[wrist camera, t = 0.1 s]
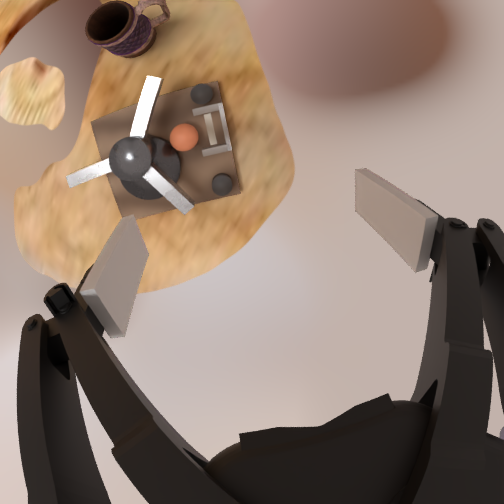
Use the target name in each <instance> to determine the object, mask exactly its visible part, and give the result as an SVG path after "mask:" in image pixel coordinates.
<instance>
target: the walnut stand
mask: <svg viewBox="0 0 504 504" xmlns="http://www.w3.org/2000/svg"><path fill="white" fill-rule="evenodd" d="M138 104H139V103H137V104H134V105H131V106H128V107H126V108H123V109H120V110H118V111H115V112H113V113H110V114H108V115H106V116H103V117H101V118H99V119H96V120H94V121H92V122H91V125H92V129H93V133H94V136H95V140H96V143H97V146H98V150H99V153H100V156H101V159H102V160H103V159H106V158H108V157H109V154H110V151H111V149H112V147H113V145H114V144H115V143H116V142H118V141H119V140H121V139H123V138H125V137H130V134H131V130H132V126H133V122H134V118H135V115H136V111H137V107H138ZM184 123H185V124H190V125H192V126H194V127H195V128H196V130H197V132H198V142H197V144H196V145H195V146H194V147H193V148H192V149H191V150H188V151H178V150H177V152H178V154H179V156H180V160H181V172H180V176H179V179H178V181H177V183H176V184H177V185H178V186H179V187H180V188H181V189H182V190H183V191H184V192H186V193H187V194H188V195H189V196H190V197H191V198H192V199H193V200H194V201H195V203H194V204H197V203H201V202H206V201H210V200H214V199H219V198H223V197H227V196H232V195H237V194H241V192H240V187H239V182H238V177H237V173H236V168H235V163H234V158H233V153H232V147H231V142H230V138H229V133H228V128H227V123H226V118H225V113H224V109H223V104H222V100H221V95H220V90H219V86H218V81H215V82H211V83H206V84H198V85H196V86H193V87H189V88H185V89H182V90H178V91H174V92H171V93H167V94H164V95H161V96H158V99H157V102H156V105H155V109H154V112H153V115H152V119H151V122H150V126H149V130H148V134H151V135H153V136H156V137H160V138H163V139H165V140H167V141H168V142H170V134H171V131H172V130H173V129H174V128H175V127H176V126H177V125H179V124H184ZM106 175H107V177H108V180H109V183H110V186H111V189H112V192H113V194H114V197H115V200H116V203H117V205H118V208H119V210H120V213H121V216H122V218H123V217H126V216H130V215H133V214H134V217H135V220H136V219H140V218H144V217H147V216H151V215H154V214H158V213H162V212H166V211H169V210H173V209H177V208H176V207H175V206H174V205H173V204H172V203H171V202H170V201H169V200H167V199H166V198H165V197H164V196H163V197H161V198H158V199H154V200H144V199H140V198H137V197H135V196H133V195H132V194H130V193H129V192H128V191H127V190H126V189H125V188H124V186H123V185H122V183H121V181H120V178H118V177H117V176H115V174H114V173H113V172H109V173H107V174H106Z"/></svg>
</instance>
